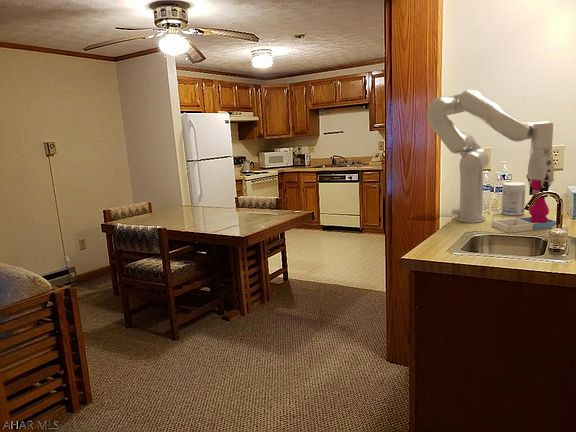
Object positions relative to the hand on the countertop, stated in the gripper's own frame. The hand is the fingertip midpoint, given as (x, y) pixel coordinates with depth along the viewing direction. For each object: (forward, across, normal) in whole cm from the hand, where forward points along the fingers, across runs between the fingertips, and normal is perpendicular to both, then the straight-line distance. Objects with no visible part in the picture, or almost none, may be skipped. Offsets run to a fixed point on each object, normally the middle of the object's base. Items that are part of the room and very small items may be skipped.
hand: (538, 195), depth 177 cm
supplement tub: (+13, +23, -5) cm, 27 cm away
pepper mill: (+11, -1, 0) cm, 11 cm away
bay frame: (+13, 0, +6) cm, 14 cm away
